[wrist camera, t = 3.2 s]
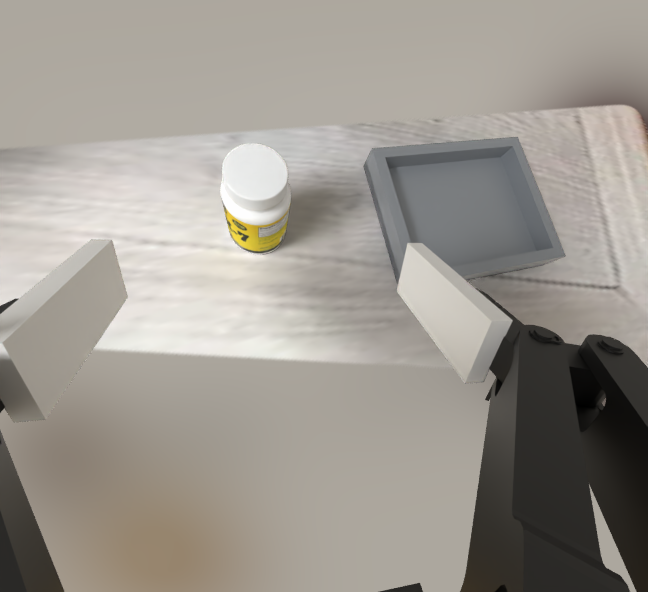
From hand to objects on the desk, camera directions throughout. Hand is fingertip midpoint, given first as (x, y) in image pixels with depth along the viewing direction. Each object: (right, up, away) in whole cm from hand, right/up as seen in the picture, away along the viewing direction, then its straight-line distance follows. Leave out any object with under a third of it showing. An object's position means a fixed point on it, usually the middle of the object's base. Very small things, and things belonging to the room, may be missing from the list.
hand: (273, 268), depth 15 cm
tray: (+15, +7, +16) cm, 23 cm away
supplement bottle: (-3, +4, +13) cm, 14 cm away
